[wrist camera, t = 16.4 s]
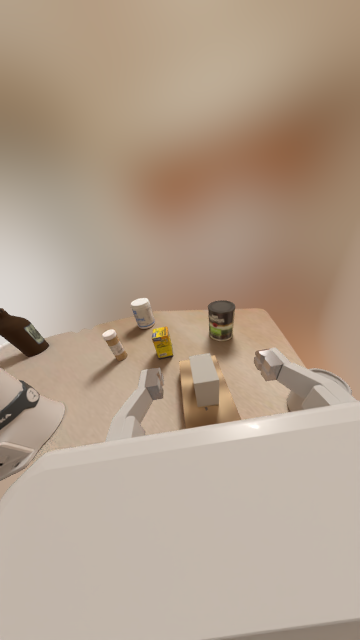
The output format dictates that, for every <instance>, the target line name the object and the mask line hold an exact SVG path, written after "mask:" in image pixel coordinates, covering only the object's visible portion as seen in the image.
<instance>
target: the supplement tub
mask: <svg viewBox="0 0 360 640" xmlns="http://www.w3.org/2000/svg"><path fill="white" fill-rule="evenodd" d="M131 307H132V310H133V313H134V316H135V318H136V321H137V324H138V326H139V328H141V329H147V328H150V327H152V326H153V325H154V323H155V321H154V317H153V314H152V310H151V307H150V303H149V300H148V299H146V298H141V299H137V300H135V301H133V302H132V303H131Z"/></svg>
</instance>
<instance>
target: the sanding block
mask: <svg viewBox="0 0 360 640" xmlns="http://www.w3.org/2000/svg"><path fill="white" fill-rule="evenodd" d="M189 359H190V365H191V371H192V377H193V383H194V388H195V394H196V400H197V405H198V408H203V407H209V406H215V405H219V377H218V375H217V372H216V369H215V366H214V364H213V361H212V358H211V355H210V353H207V354H201V355H195V356H189Z"/></svg>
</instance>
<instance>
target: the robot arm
mask: <svg viewBox="0 0 360 640" xmlns="http://www.w3.org/2000/svg"><path fill="white" fill-rule="evenodd" d="M255 355H256V357H255V358H254V364H255V366H256V368H257V369H258V370H260V371H261V375H262V376H263V378H264V379H265V381H271V380H277V381H279V382H280V383H281V384H283V385H284V386H286V387H287V388H289V389H290V390H292V391H293V392H295V393H296V394H297V395H299V396H300V397H302V398H303V399H305V400H304V401H303V403H302V405H301V406H302V407H303V409H304V410H299V411H293V412H287V413H281V414H275V415H269V416H262V417H256V418H250V419H244V420H238V421H232V422H225V423H219V424H213V425H207V426H201V427H195V428H188V429H182V430H176V431H170V432H164V433H158V434H151V435H145V430H144V429H143V427H142V426H141V425H140V424H141V422H142V420H143V418H144V416H145V415H146V413H147V411H148V409H149V407H150V405H151V404H152V402H153V400H157V399H162V398H163V388H162V386H163V385H164V380H163V375H162V373H161V369H160V368H153V369H146V370H142V371H141V374H140V379H139V384H138V388H137V389H136V390H135V391H134V392H133V393H132V395H131V396H130V397H129V398H128V400H127V401H126V402H125V403H124V405H123V406H122V407H121V408H120V410H119V411H118V412H117V413H116V415H115V416H114V417H113V419H112V422H111V425H110V428H109V432H108V435H107V438H106V441H105V442H102V443H96V444H90V445H84V446H78V447H71V448H65V449H59V450H53V451H49V452H47V453H45V454H43V455H42V456H41V457H40V458H39V459H38V460H37V461H36V462H34V463H33V464H32V465H31V466H30V467H29V468H28V469H27V470H26V471H25V472H24V473H23V474H22V475H21V476H20V477H19V478H18V479H17V480H16V481H15V482H14V483H13V484H12V485H11V486H10V488H9V489H8V490H7V491H6V492H5V494H4V495H3V497H2V498H1V500H0V640H360V401H357V400H356V399H355V398H354V397H353V396H352V395H350V394H349V393H348V392H347V391H346V390H344V389H343V388H342V387H341V386H340V385H339V384H337V383H336V382H335V381H332V380H330V379H328V378H326V377H324V376H321V375H319V374H317V373H315V372H313V371H310V370H308V369H306V368H304V367H302V366H299V365H297V364H295V363H291V362H290V361H289V360H288V359H287V358H286V357H285V356H284V355H283V354H282V353H281V352H280V351H279V350H278V349H277V348H271V349H264V350H259V351H256V352H255ZM64 411H65V407H64V404H63V403H62V402H59V401H55V400H51V399H49V398H46V397H44V396H42V395H40V394H39V393H38V392H37V391H36V390H35V389H34V388H33V387H31V386H30V385H28V384H27V383H25V382H24V381H21V380H17V379H16V378H14V377H13V376H12V375H10V374H9V373H8V372H6V371H5V370H3V369H2V368H1V367H0V481H1V480H3V479H5V478H7V477H9V476H11V475H13V474H15V473H17V472H19V471H21V470H23V469H24V468H25V467H27V465H28V464H29V463H30V462H31V461H32V459H33V458H34V456H35V455H36V453H37V452H38V450H39V449H40V448H41V447H42V445H43V444H44V443H45V442H46V441H47V440H48V439H49V438H50V437H51V435H52V434H53V433H54V431H55V430H56V429H57V427H58V426H59V424H60V422H61V420H62V418H63V415H64Z"/></svg>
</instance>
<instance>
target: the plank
mask: <svg viewBox="0 0 360 640" xmlns="http://www.w3.org/2000/svg"><path fill="white" fill-rule="evenodd" d="M211 358H212V361H213V364H214V366H215V369H216V372H217V375H218V377H219V405H215V406H209V407H203V408H198V405H197V400H196V394H195V388H194V383H193V377H192V371H191V365H190V360H184V361H179V365H180V376H181V386H182V397H183V408H184V419H185V429H188V428H195V427H201V426H207V425H213V424H219V423H225V422H232V421H238V420H241V418H240V416H239V413H238V411H237V408H236V406H235V403H234V401H233V398H232V396H231V393H230V391H229V389H228V386H227V384H226V381H225V379H224V376H223V374H222V371H221V369H220V366H219V364H218V362H217V359H216V357H215V355H214V356H211Z"/></svg>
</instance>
